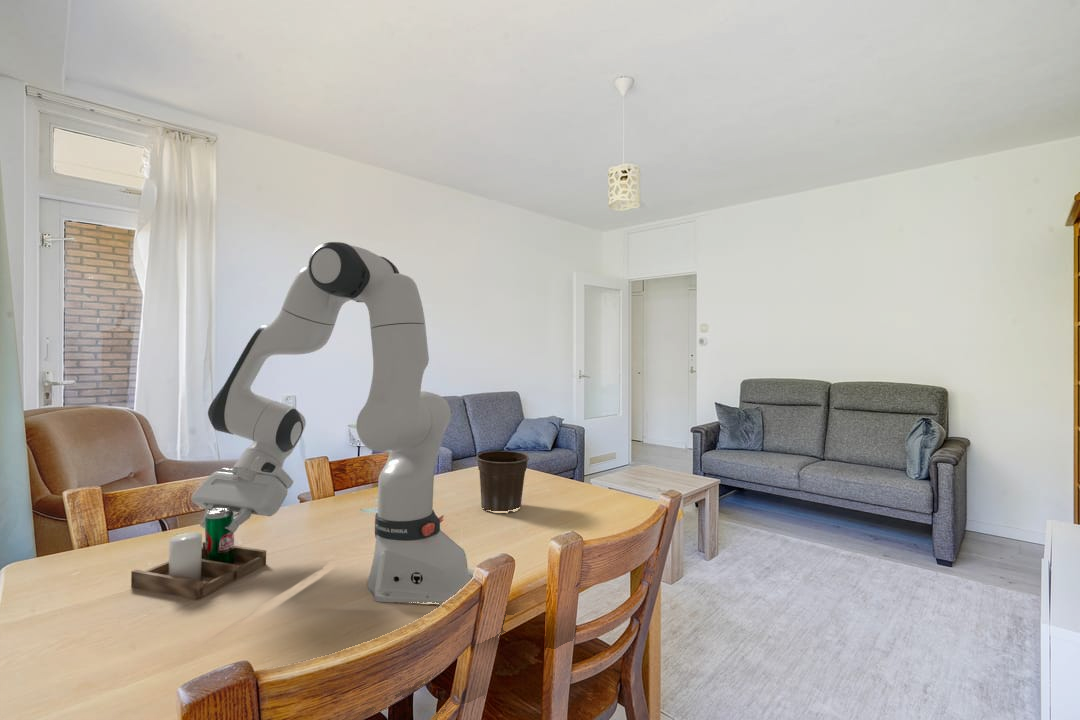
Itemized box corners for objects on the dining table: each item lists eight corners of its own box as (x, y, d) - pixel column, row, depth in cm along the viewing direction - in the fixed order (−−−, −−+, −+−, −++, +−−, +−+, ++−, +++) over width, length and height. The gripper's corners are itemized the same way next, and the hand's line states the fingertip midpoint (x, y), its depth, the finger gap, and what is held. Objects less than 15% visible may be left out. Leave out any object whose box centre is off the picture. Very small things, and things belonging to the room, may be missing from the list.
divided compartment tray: (265, 569, 106) (266, 550, 106) (198, 606, 90) (198, 583, 90) (205, 560, 110) (205, 541, 110) (131, 593, 94) (131, 571, 94)
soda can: (222, 572, 101) (221, 514, 101) (200, 571, 102) (198, 513, 101) (240, 561, 106) (239, 506, 106) (218, 560, 107) (217, 505, 106)
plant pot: (526, 517, 144) (528, 462, 144) (471, 515, 144) (472, 460, 144) (528, 501, 160) (530, 451, 160) (478, 499, 161) (480, 449, 160)
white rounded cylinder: (207, 579, 98) (208, 534, 98) (183, 591, 93) (184, 544, 93) (186, 575, 99) (187, 531, 99) (161, 587, 94) (162, 540, 94)
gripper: (210, 459, 113) (167, 516, 103) (285, 467, 108) (248, 527, 98) (226, 474, 117) (186, 530, 108) (300, 483, 112) (265, 541, 103)
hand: (216, 529), depth 103 cm, fingers closed on soda can, 5 cm apart
